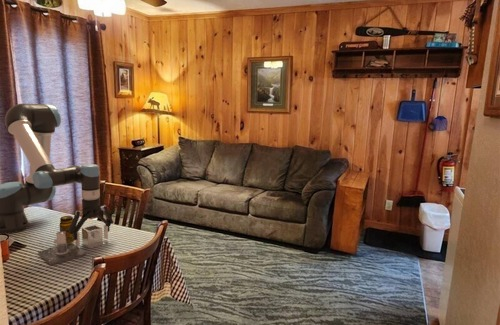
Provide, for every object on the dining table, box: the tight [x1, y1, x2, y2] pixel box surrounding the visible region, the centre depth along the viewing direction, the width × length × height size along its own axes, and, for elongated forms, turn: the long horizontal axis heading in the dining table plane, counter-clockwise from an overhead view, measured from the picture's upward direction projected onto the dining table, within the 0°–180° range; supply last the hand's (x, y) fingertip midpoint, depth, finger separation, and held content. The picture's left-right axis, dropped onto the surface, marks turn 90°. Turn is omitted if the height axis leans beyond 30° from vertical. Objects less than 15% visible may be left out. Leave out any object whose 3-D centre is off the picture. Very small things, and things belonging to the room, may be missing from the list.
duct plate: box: [37, 231, 87, 267], centre depth 144 cm, size 15×14×10 cm
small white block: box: [81, 224, 104, 249], centre depth 155 cm, size 8×7×8 cm
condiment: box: [54, 215, 76, 247], centre depth 157 cm, size 7×8×12 cm
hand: (92, 242), depth 156 cm, fingers open, 12 cm apart
